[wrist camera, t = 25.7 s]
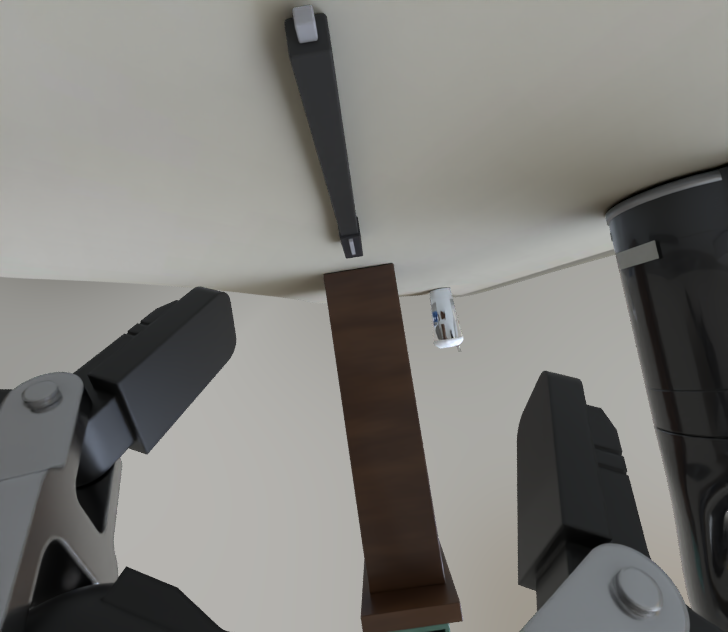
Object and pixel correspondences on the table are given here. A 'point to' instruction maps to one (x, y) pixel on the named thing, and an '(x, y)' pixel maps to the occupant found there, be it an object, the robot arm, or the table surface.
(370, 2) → the table surface
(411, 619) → the stand
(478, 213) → the table surface
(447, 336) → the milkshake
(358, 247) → the pen
